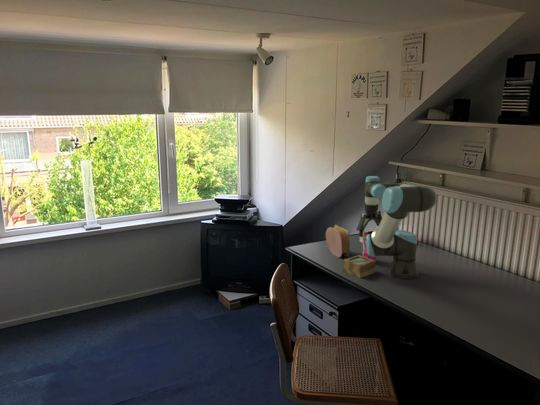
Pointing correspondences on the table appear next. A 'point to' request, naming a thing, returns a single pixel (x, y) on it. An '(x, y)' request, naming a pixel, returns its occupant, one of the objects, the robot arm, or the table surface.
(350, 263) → the frame
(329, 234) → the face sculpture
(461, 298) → the table surface
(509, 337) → the table surface
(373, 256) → the supplement box
